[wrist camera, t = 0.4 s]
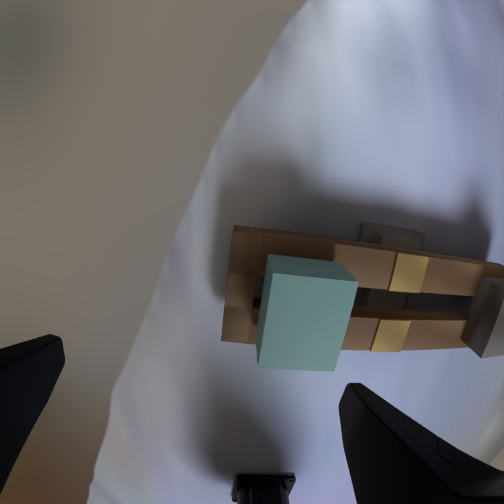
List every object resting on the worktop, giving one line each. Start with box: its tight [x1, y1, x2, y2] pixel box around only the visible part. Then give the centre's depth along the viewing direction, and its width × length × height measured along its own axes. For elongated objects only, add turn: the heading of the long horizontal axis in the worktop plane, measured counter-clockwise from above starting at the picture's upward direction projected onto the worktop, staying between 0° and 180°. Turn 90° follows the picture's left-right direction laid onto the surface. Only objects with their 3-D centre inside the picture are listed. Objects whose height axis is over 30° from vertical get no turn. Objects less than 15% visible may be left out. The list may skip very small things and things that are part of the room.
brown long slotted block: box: [221, 222, 504, 358], centre depth 18 cm, size 9×22×6 cm, turn 83°
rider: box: [256, 254, 359, 371], centre depth 17 cm, size 5×4×5 cm
